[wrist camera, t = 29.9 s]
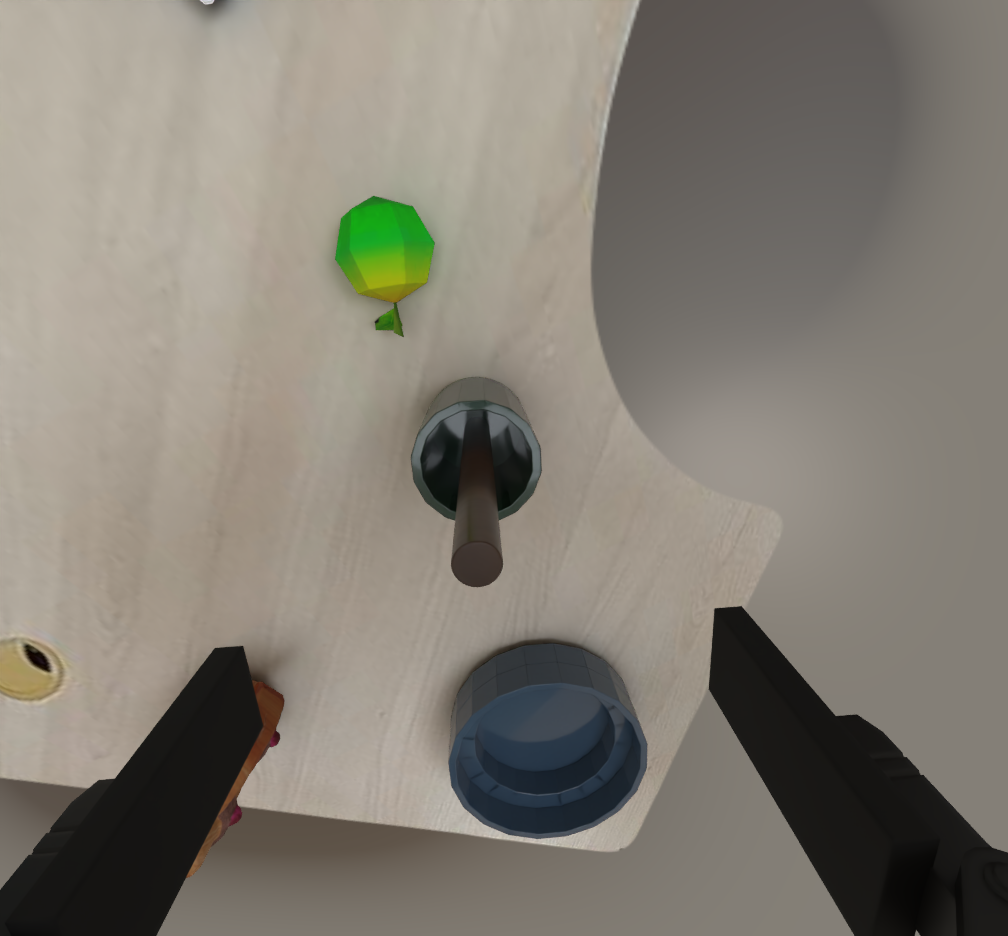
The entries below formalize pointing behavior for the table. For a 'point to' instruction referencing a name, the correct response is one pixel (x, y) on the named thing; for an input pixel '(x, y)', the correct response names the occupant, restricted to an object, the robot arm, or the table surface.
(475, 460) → the stick
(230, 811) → the mug
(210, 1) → the plate
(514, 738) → the bowl
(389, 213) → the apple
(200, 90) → the table surface
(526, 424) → the holder
